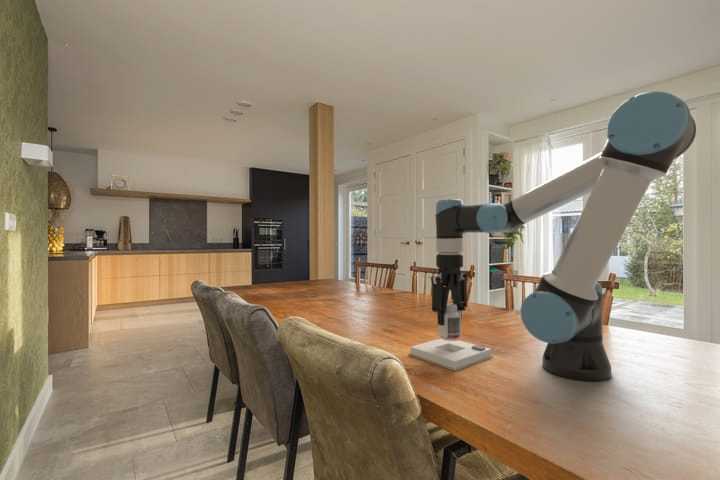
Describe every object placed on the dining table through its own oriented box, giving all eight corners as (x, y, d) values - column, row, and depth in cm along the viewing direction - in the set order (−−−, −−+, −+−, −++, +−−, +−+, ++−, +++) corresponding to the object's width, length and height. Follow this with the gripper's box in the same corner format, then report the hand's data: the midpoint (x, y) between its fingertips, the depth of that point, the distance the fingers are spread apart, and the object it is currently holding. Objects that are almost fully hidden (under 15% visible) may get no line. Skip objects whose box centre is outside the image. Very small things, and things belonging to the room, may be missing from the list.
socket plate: (492, 357, 104) (492, 346, 104) (455, 371, 94) (455, 359, 94) (446, 344, 117) (446, 334, 117) (409, 354, 107) (409, 344, 107)
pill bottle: (463, 338, 105) (463, 304, 105) (453, 342, 101) (452, 307, 101) (447, 335, 109) (446, 302, 109) (436, 338, 105) (436, 304, 105)
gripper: (459, 252, 113) (459, 326, 114) (417, 254, 102) (418, 337, 103) (479, 252, 108) (480, 331, 108) (438, 255, 96) (439, 343, 97)
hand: (450, 334), depth 105 cm, fingers closed on pill bottle, 5 cm apart
